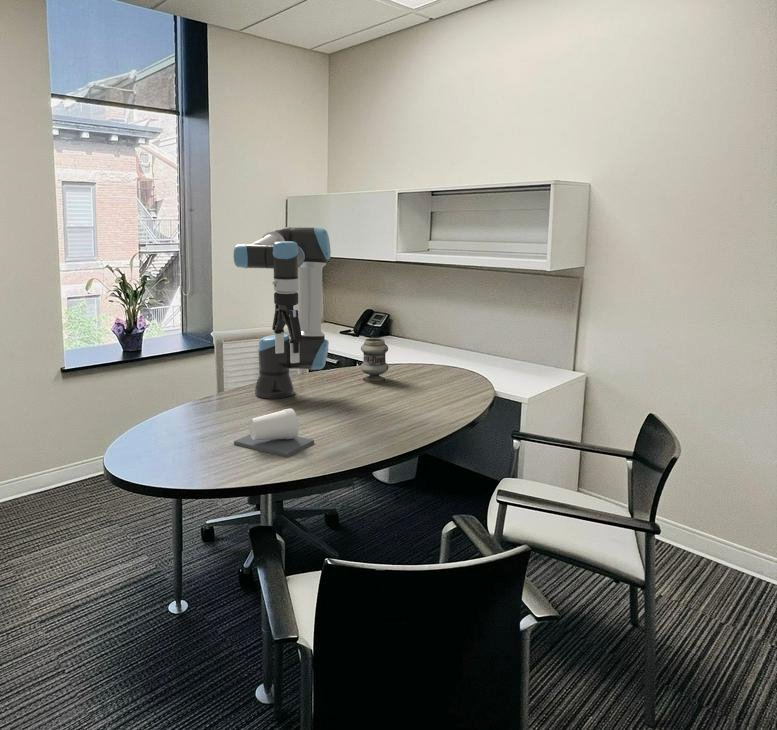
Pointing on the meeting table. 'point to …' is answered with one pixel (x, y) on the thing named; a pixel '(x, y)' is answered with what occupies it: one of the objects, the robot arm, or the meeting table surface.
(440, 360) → the meeting table surface
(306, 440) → the rubber mat
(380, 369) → the apothecary jar
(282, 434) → the foam cup
